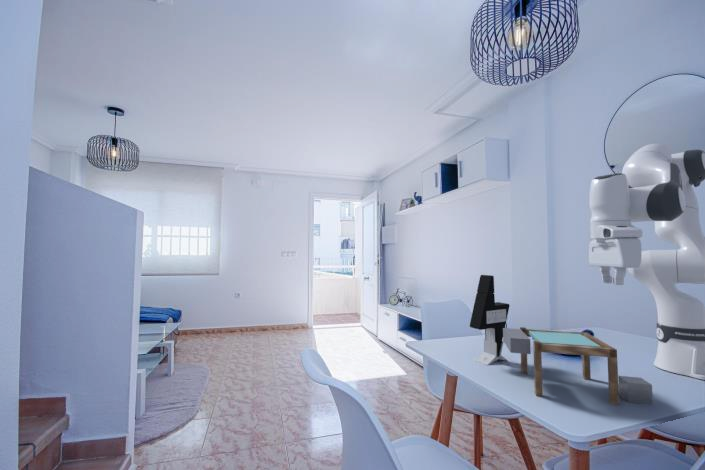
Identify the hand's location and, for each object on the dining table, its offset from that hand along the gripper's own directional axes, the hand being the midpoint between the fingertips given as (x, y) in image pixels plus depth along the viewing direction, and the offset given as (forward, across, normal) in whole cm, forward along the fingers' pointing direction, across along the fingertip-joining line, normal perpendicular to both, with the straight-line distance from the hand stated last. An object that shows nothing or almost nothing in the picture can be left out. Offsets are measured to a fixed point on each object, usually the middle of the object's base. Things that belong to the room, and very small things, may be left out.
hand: (612, 284), depth 88 cm
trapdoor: (+19, -4, -15) cm, 25 cm away
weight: (+30, 0, +4) cm, 30 cm away
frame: (+30, -4, -11) cm, 32 cm away
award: (+30, -22, -28) cm, 47 cm away
